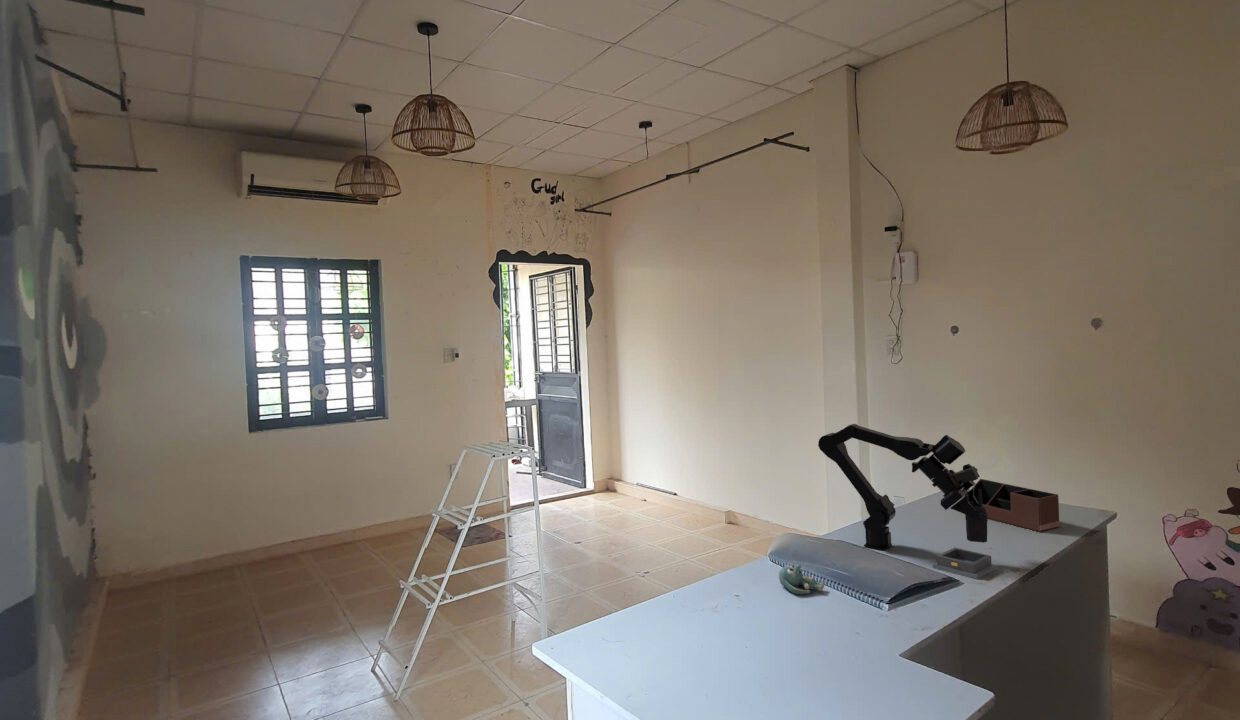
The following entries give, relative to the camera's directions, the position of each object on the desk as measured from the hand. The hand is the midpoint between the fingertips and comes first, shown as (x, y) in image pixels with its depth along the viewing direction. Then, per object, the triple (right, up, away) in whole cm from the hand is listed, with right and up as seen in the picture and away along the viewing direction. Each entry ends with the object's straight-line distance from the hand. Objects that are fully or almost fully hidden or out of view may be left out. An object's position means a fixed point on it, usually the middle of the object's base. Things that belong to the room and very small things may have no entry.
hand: (982, 516), depth 179 cm
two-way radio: (-1, -8, +1) cm, 8 cm away
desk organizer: (+31, -11, +38) cm, 51 cm away
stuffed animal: (-54, -17, -11) cm, 58 cm away
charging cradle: (-6, -14, -3) cm, 15 cm away
